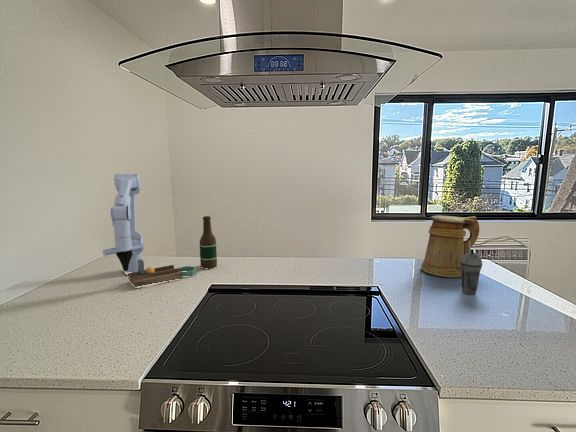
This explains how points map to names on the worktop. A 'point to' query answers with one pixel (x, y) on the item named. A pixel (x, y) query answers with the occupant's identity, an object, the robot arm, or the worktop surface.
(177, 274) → the brown wooden moulding block
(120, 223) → the robot arm
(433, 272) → the tankard
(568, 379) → the worktop surface
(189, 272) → the teal shallow dish
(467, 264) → the beverage cup
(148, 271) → the ball
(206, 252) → the beer bottle
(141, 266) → the gray l-shaped bracket
